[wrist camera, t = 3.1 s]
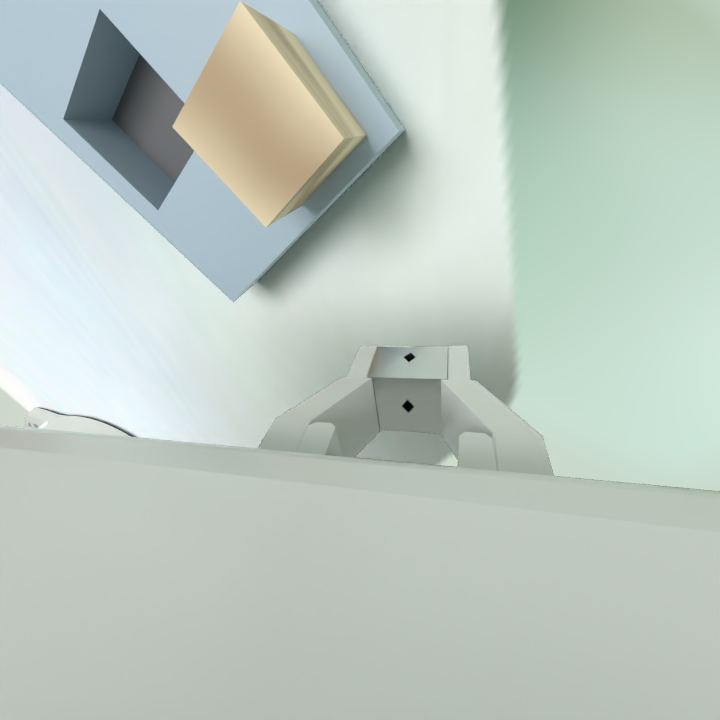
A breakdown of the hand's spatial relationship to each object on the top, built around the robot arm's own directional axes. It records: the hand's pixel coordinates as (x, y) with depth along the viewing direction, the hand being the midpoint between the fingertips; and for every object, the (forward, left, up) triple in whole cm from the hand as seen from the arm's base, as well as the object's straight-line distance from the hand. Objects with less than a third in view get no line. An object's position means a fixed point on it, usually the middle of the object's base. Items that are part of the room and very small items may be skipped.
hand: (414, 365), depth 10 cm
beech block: (-1, +8, -8) cm, 11 cm away
